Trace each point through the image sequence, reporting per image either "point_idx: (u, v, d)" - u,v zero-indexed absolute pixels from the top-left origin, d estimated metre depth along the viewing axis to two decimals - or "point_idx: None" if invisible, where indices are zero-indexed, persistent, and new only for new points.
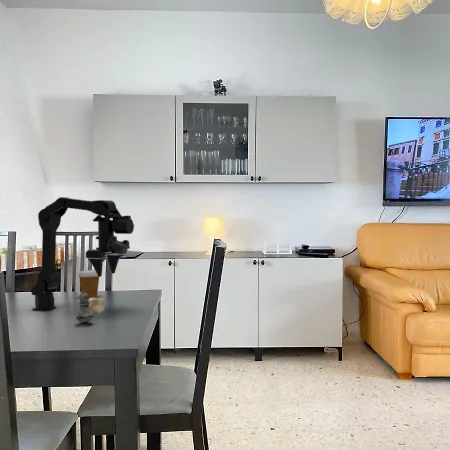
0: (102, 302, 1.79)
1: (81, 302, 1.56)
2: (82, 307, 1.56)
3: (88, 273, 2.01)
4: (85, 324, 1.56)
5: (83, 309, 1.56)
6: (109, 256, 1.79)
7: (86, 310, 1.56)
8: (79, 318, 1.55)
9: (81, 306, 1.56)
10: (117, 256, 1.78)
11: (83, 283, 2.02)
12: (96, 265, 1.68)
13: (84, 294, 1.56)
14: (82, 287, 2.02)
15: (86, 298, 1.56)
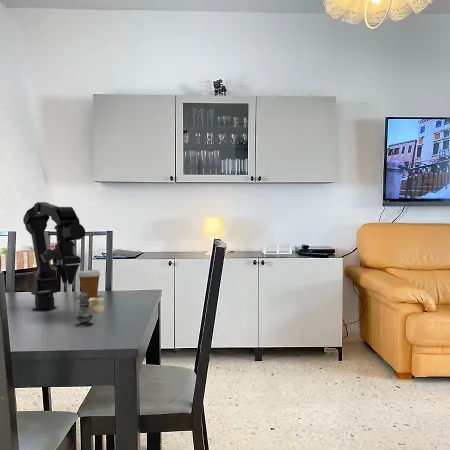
0: (102, 302, 1.79)
1: (81, 302, 1.56)
2: (82, 307, 1.56)
3: (88, 273, 2.01)
4: (85, 324, 1.56)
5: (83, 309, 1.56)
6: None
7: (86, 310, 1.56)
8: (79, 318, 1.55)
9: (81, 306, 1.56)
10: None
11: (83, 283, 2.02)
12: None
13: (84, 294, 1.56)
14: (82, 287, 2.02)
15: (86, 298, 1.56)
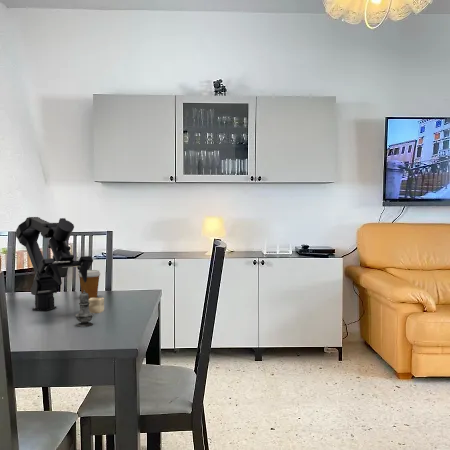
0: (102, 302, 1.79)
1: (81, 302, 1.56)
2: (82, 307, 1.56)
3: (88, 273, 2.01)
4: (85, 324, 1.56)
5: (83, 309, 1.56)
6: None
7: (86, 310, 1.56)
8: (79, 318, 1.55)
9: (81, 306, 1.56)
10: None
11: (83, 283, 2.02)
12: None
13: (84, 294, 1.56)
14: (82, 287, 2.02)
15: (86, 298, 1.56)
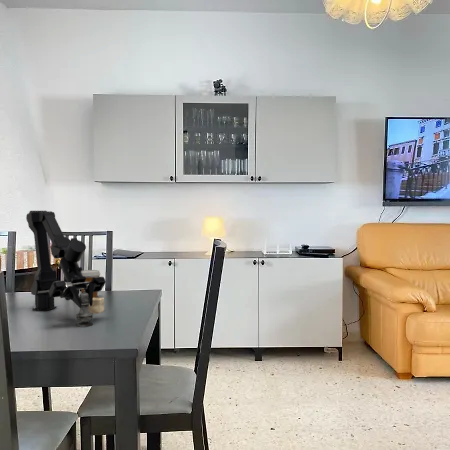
0: (102, 302, 1.79)
1: (81, 302, 1.56)
2: (82, 307, 1.56)
3: (88, 273, 2.01)
4: (85, 324, 1.56)
5: (83, 309, 1.56)
6: None
7: (86, 309, 1.56)
8: (79, 318, 1.55)
9: (81, 306, 1.56)
10: None
11: None
12: None
13: (84, 294, 1.56)
14: None
15: (86, 298, 1.56)
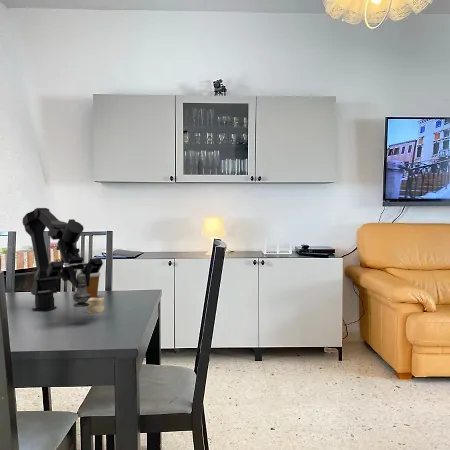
0: (102, 302, 1.79)
1: (78, 282, 1.57)
2: (79, 287, 1.57)
3: None
4: (82, 304, 1.57)
5: (80, 290, 1.57)
6: None
7: (83, 290, 1.58)
8: (76, 298, 1.57)
9: None
10: None
11: None
12: None
13: (81, 275, 1.57)
14: None
15: (83, 279, 1.58)
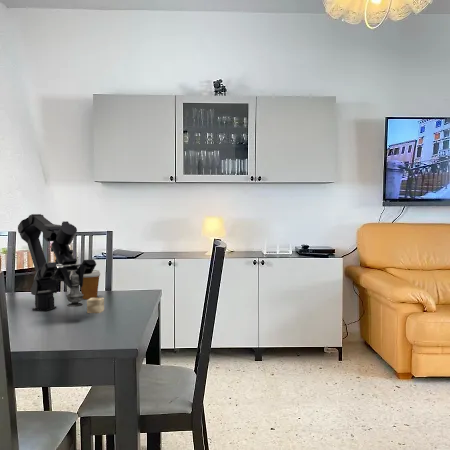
0: (102, 302, 1.79)
1: (72, 283, 1.61)
2: (72, 288, 1.61)
3: None
4: (75, 304, 1.61)
5: (73, 290, 1.61)
6: None
7: (76, 290, 1.61)
8: (69, 298, 1.60)
9: (72, 287, 1.61)
10: None
11: (83, 283, 2.02)
12: None
13: (74, 275, 1.61)
14: (82, 287, 2.02)
15: (76, 279, 1.61)
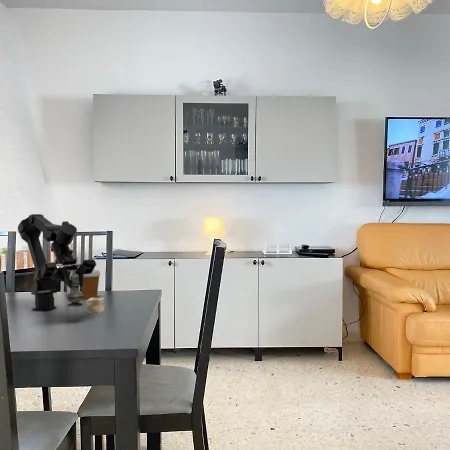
0: (102, 302, 1.79)
1: (72, 283, 1.61)
2: (72, 288, 1.61)
3: None
4: (75, 304, 1.61)
5: (73, 290, 1.61)
6: None
7: (76, 290, 1.61)
8: (69, 298, 1.60)
9: (72, 287, 1.61)
10: None
11: (83, 283, 2.02)
12: None
13: (74, 275, 1.61)
14: (82, 287, 2.02)
15: (76, 279, 1.61)
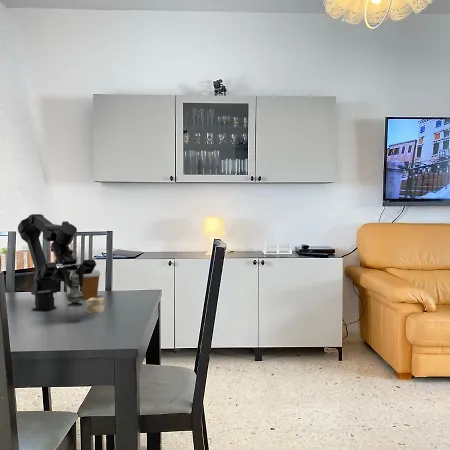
0: (102, 302, 1.79)
1: (72, 283, 1.61)
2: (72, 288, 1.61)
3: None
4: (75, 304, 1.61)
5: (73, 290, 1.61)
6: None
7: (76, 290, 1.61)
8: (69, 298, 1.60)
9: (72, 287, 1.61)
10: None
11: (83, 283, 2.02)
12: None
13: (74, 275, 1.61)
14: (82, 287, 2.02)
15: (76, 279, 1.61)
